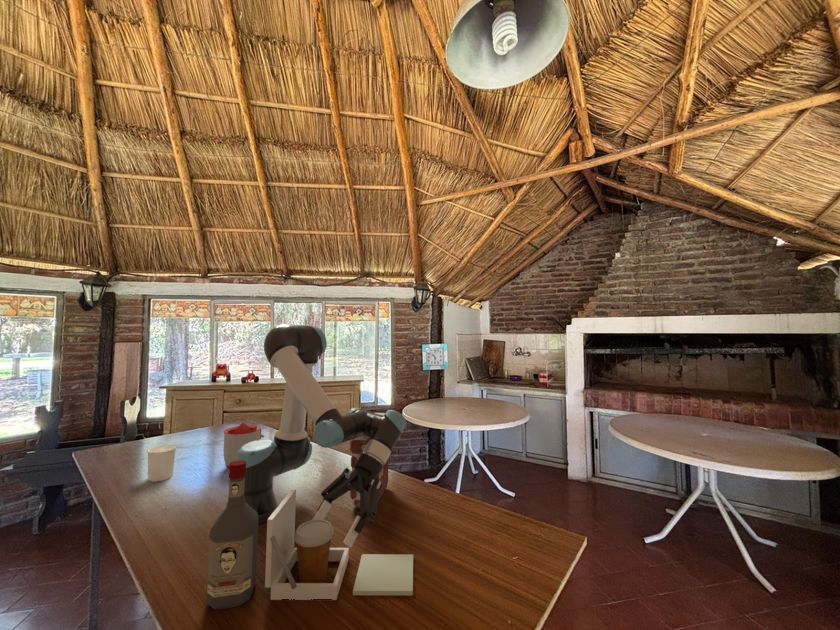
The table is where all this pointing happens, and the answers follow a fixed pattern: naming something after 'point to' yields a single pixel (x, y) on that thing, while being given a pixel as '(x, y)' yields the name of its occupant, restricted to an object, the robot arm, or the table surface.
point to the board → (384, 575)
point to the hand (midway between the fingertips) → (329, 535)
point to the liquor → (233, 547)
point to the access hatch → (294, 558)
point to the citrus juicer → (238, 440)
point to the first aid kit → (357, 450)
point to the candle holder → (161, 462)
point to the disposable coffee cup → (313, 550)
